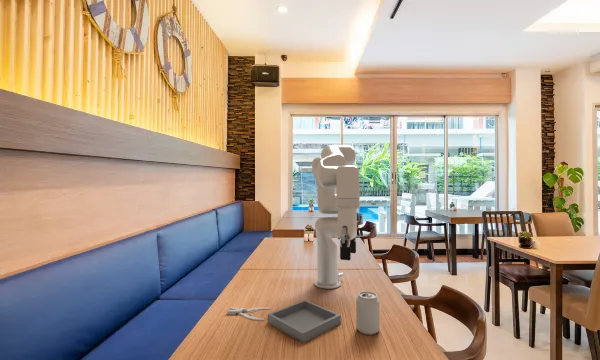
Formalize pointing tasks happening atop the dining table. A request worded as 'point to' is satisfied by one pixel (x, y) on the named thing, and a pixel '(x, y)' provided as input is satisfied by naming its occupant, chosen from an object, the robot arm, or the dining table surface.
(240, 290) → the dining table surface
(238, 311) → the pliers
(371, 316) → the can
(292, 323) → the parts tray
